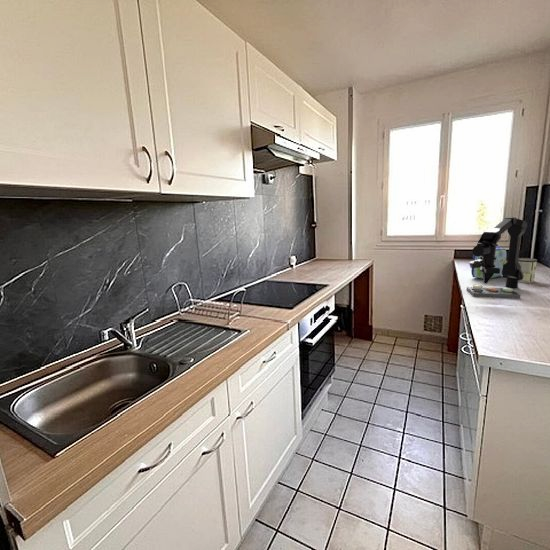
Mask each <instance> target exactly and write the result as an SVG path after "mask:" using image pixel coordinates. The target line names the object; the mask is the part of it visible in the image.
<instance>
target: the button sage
mask: <svg viewBox="0 0 550 550" xmlns="http://www.w3.org/2000/svg"><path fill="white" fill-rule="evenodd" d="M502 288H503V289H502V291H503V292H513V291H514V289H511V288H507V287H502Z"/></svg>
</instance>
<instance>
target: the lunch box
mask: <svg viewBox="0 0 550 550" xmlns="http://www.w3.org/2000/svg"><path fill="white" fill-rule="evenodd" d="M472 254H473V253H472ZM507 255H508V254H507V250H506V248H502V247H500V246H499V245H498V246H496V252H495V257H496V260H495V261H494V265H495V267H497V268H499V269H500V274H495V273H494V274H493V276H492V277H491V278H490V280H492V279H495V278H498V277H502V269H503V265H504V264H505V263H506V262H507V257H508V256H507ZM480 257H481V256H478V257H477V256H475V255H474V254H473V255H472V259H471V261H474V260H478V259H480ZM479 270H480V268H479V267H478V268H474V269H472V268H471V276H472V277H473V278H477V279H482V280H483V276H482V273H481V272H480V271H479Z"/></svg>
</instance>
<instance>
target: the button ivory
mask: <svg viewBox="0 0 550 550" xmlns="http://www.w3.org/2000/svg"><path fill="white" fill-rule="evenodd" d="M472 287H473V288H474V290H473V291H481V289H482V287H483V285H480V284H473V285H472Z"/></svg>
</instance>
